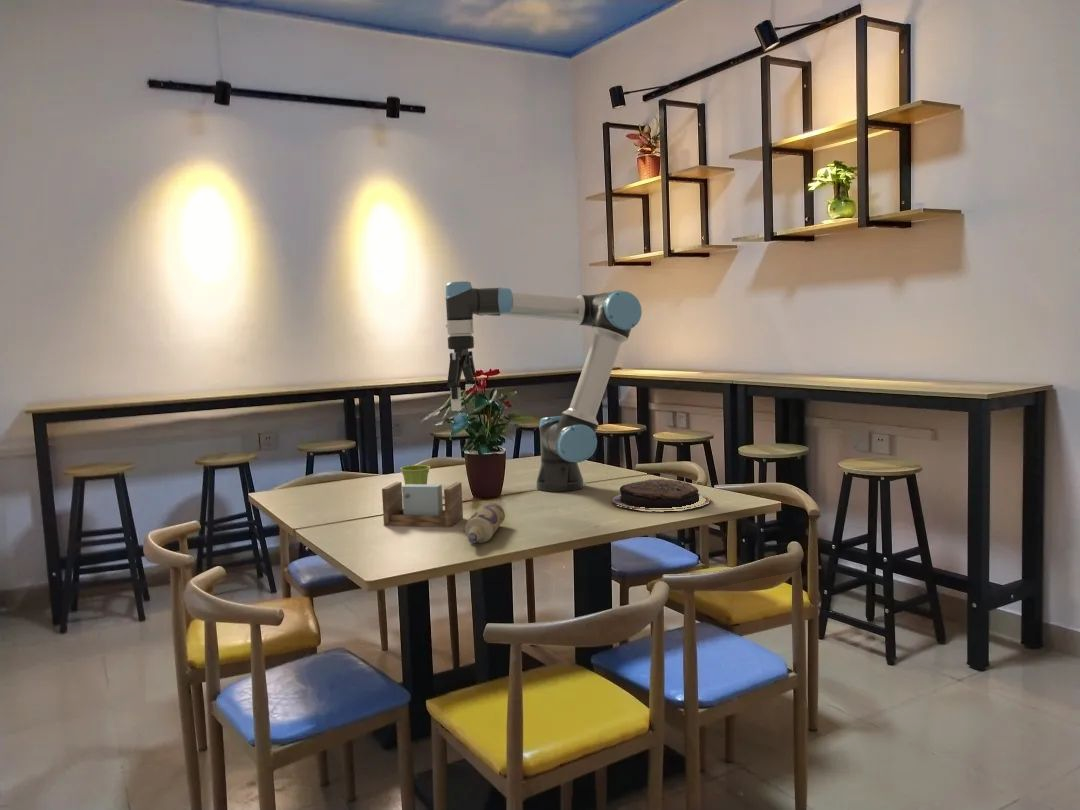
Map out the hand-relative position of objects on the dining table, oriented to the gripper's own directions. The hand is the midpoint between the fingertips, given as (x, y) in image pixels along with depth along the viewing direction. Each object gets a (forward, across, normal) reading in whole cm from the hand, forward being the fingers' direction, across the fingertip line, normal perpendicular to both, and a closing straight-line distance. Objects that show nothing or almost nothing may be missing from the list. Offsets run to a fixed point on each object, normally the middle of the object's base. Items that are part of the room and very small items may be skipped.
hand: (463, 408), depth 246 cm
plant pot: (+29, -15, -22) cm, 39 cm away
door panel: (+28, +22, -6) cm, 36 cm away
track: (+29, +22, -6) cm, 37 cm away
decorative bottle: (+29, +37, +15) cm, 49 cm away
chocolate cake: (+29, -7, +56) cm, 64 cm away
